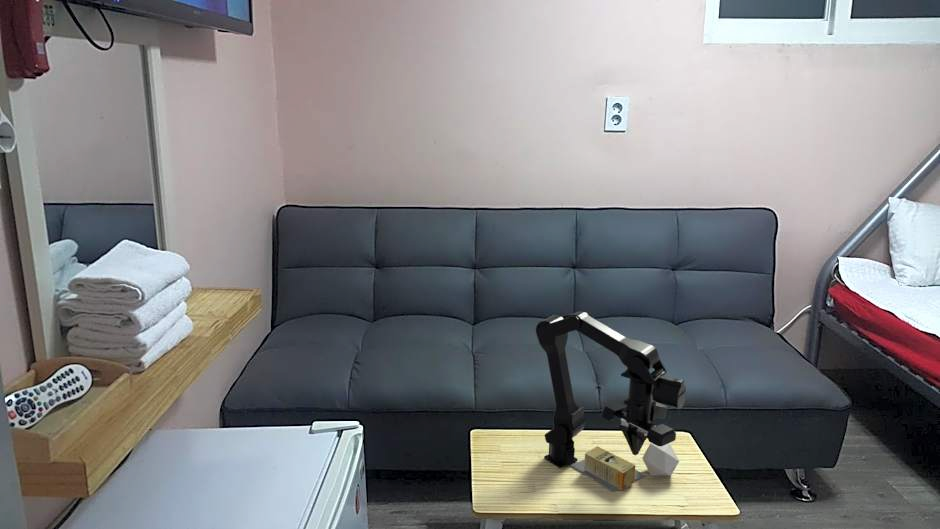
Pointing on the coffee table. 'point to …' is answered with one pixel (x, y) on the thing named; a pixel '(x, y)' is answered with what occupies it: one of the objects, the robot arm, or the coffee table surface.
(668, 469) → the die
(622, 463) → the shoe polish box
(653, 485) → the coffee table surface
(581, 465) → the mat
